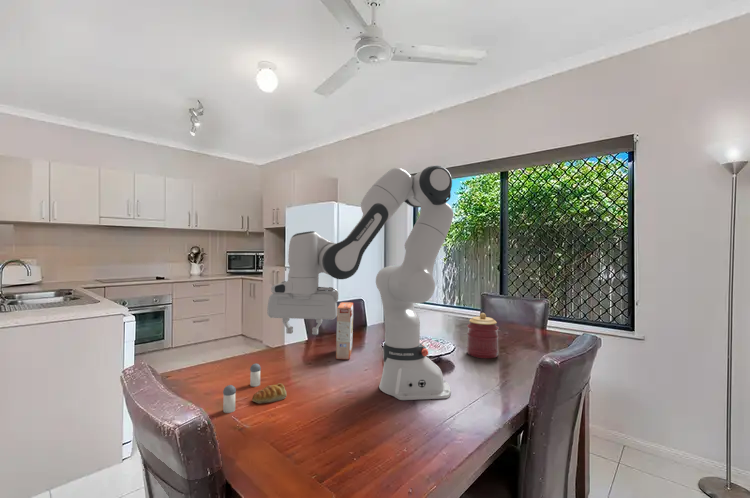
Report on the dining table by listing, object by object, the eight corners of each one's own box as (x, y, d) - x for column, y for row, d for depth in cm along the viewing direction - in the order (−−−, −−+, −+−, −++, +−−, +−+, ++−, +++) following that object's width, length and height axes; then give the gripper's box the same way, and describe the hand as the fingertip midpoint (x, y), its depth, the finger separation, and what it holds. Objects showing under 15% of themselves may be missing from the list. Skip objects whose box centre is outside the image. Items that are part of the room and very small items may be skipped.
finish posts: (262, 383, 116) (262, 362, 116) (232, 413, 95) (232, 388, 95) (252, 382, 117) (252, 362, 117) (220, 412, 95) (220, 387, 95)
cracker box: (350, 360, 141) (351, 307, 141) (335, 359, 141) (336, 307, 141) (353, 349, 155) (353, 301, 155) (339, 349, 155) (340, 301, 155)
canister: (464, 349, 159) (465, 309, 159) (494, 350, 158) (495, 310, 158) (468, 358, 147) (469, 315, 146) (501, 360, 145) (502, 316, 145)
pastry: (257, 407, 99) (257, 394, 99) (248, 400, 104) (248, 386, 104) (288, 398, 105) (288, 386, 105) (278, 391, 110) (278, 379, 110)
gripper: (340, 286, 107) (339, 332, 107) (273, 284, 108) (272, 329, 109) (336, 288, 101) (335, 337, 101) (265, 286, 102) (264, 335, 102)
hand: (302, 333), depth 105 cm, fingers open, 6 cm apart
